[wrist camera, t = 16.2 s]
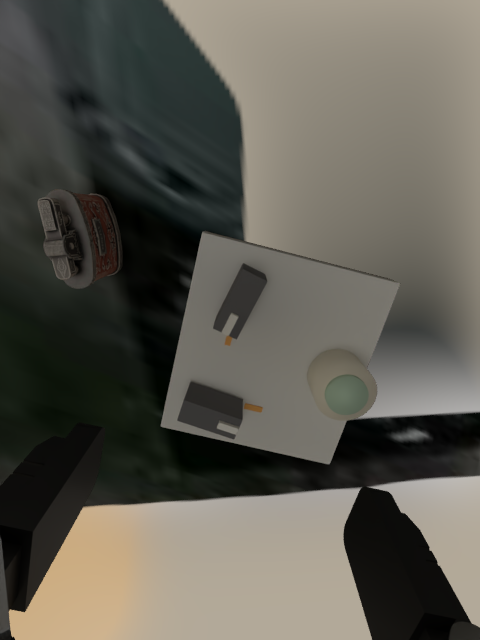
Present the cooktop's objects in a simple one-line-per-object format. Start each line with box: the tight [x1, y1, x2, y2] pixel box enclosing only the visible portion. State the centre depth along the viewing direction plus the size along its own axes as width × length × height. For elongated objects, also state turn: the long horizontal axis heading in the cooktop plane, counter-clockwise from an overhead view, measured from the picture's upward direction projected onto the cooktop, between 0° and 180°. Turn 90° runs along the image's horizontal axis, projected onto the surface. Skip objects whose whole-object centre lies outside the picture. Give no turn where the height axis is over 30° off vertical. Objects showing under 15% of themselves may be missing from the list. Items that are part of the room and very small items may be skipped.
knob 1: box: [177, 382, 243, 439], centre depth 36 cm, size 2×6×4 cm, turn 69°
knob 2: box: [213, 263, 267, 340], centre depth 33 cm, size 2×6×4 cm, turn 153°
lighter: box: [38, 189, 122, 289], centre depth 31 cm, size 8×3×10 cm, turn 6°
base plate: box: [161, 231, 400, 464], centre depth 36 cm, size 20×22×7 cm
